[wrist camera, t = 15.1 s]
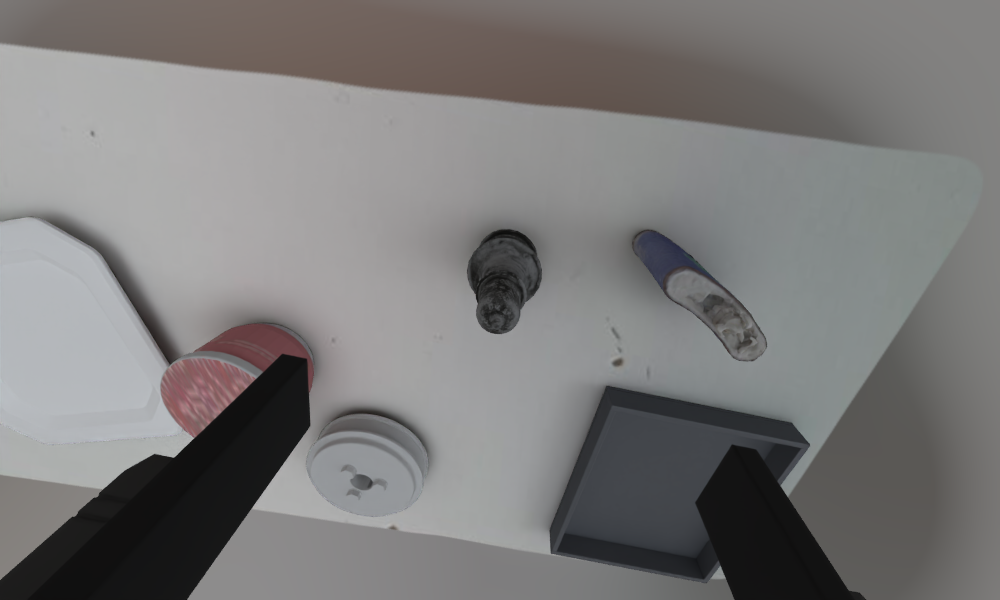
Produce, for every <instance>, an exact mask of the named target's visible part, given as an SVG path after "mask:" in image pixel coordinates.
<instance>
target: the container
mask: <svg viewBox="0 0 1000 600" xmlns="http://www.w3.org/2000/svg"><path fill="white" fill-rule="evenodd" d="M281 354H287V355H292V356H297V357H302V358H307V362H308V384H309V392H310V390H311V387H312V382H313V376H314V361H313V356H312V353H311V350H310V349H309V347H308V345H307V344H306V343H305V341H304V340H303V339H302V338H301V337H300V336H298V335H297V334H296V333H294V332H293V331H291V330H289V329H287V328H285V327H283V326H280V325H277V324H270V323H262V324H248V325H243V326H238V327H234V328H231V329H229V330H227V331H225V332H224V333H222V334H221V335H219V336H218V337H216V338H214V339H213V340H211V341H210V342H208V343H206V344H205V345H203V346H202V347H200V348H199V349H197V350H195V351H194V352H193V353H189V354H186V355H184V356H182V357H180V358H179V359H177V360H176V361H174V362H173V363H172V364H171V365H170V366H169V367H167V368H166V370H165V372H164V373H163V375H162V378H161V382H160V393H161V397H162V400H163V403H164V405H165V407H166V409H167V411H168V413H169V414H170V415H171V417H172V418H173V419H174V420H175V422H176V423H177V424H178V425H179V426H180V427H181V428H183V429H184V430H185V431H186V432H187V433H189V434H190V435H191V436H193V437H194V438H195V437H196V436H197V435H198V434H199V433H200V432H201V431H202V430H204V429H205V428H206V427H207V426H208V425H209V424H210V423H211V422H212V421H213V420H214V419H215V418H216V417H217V416H218V415H219V414H220V413H221V412H222V411H223V410H224V409H225V408H226V407H227V406H228V405H229V404H230V403H232V402H233V401H234V400H235V399H236V398H237V397H238V396H239V395H240V394H241V393H242V392H243V391H244V390H245V389H246V388H247V387H248V386H249V385H250V384H251V383H252V382H253V381H254V380H255V379H256V378H257V377H258V376H260V375H261V374H262V373H263V372H264V371H265V370H266V369H267V368H268V367H269V366H270V365H271V364H272V363H273V362H274V361H275V360H276V359H277V358H278V357H279V356H280V355H281Z"/></svg>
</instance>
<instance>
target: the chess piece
mask: <svg viewBox="0 0 1000 600" xmlns="http://www.w3.org/2000/svg"><path fill="white" fill-rule="evenodd" d="M467 274H468V281H469V284H470V286H471V288H472V290H473V291H474V293H475V294H476V300H477V303H478V305H477V309H476V316H477V320H478V322H479V324H480V325H481V327H482V328H483V329H485V330H486V331H488V332H490V333H494V334H503V333H507V332H509V331H510V330H512V329H513V328H514V327H515V326H516V324H517V323H518V321H519V318H520V310H521V309H522V307H523V306H524V304H525V302H527V301H528V300H529V299H530V298H531V297H532V296H534V294H535V293H536V291H537V290H538V288H539V286H540V282H541V279H542V269H541V265H540V261H539V259H538V257H537V253H536V249H535V247H534V245H533V243H532V242H531V241H530V240H529V239H528V238H527V237H526V236H525V235H523V234H522V233H520V232H518V231H514V230H499V231H495V232H493V233H491V234H489V235H488V236H487V237H486V238H485V239H484V240H483V241H482V242H481V244H480V246H479V247H478V248H477V249H476V251H475V252H474V253H473V255H472V256H471V258H470V260H469V264H468V269H467Z"/></svg>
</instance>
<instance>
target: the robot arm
mask: <svg viewBox="0 0 1000 600" xmlns="http://www.w3.org/2000/svg"><path fill="white" fill-rule="evenodd" d="M309 427H310V405H309V384H308V362H307V358H302V357H297V356H292V355H287V354H281V355H280V356H279V357H278V358H277V359H276V360H275V361H274V362H273V363H272V364H271V365H270V366H269V367H268V368H267V369H266V370H265V371H264V372H263V373H262V374H261V375H260V376H258V377H257V378H256V379H255V380H254V381H253V382H252V383H251V384H250V385H249V386H248V387H247V388H246V389H245V390H244V391H243V392H242V393H241V394H240V395H239V396H238V397H237V398H236V399H235V400H234V401H233V402H232V403H230V404H229V405H228V406H227V407H226V408H225V409H224V410H223V411H222V412H221V413H220V414H219V415H218V416H217V417H216V418H215V419H214V420H213V421H212V422H211V423H210V424H209V425H208V426H207V427H206V428H205V429H204V430H202V431H201V432H200V433H199V434H198V435H197V436H196V437H195V438H194V439H193V440H192V441H191V442H190V443H189V444H188V445H187V446H186V447H185V448H184V449H183V450H182V451H181V452H180V453H179V454H178V455H177V456H176V457H174V458H172V457H167V456H162V455H157V454H154V455H152V456H150V457H148V458H146V459H145V460H143V461H141V462H139V463H138V464H136V465H134V466H132V467H130V468H129V469H127V470H125V471H124V472H123V473H121V474H120V475H119V476H118V477H117V478H116V479H115V480H113V481H112V482H111V483H110V484H109V485H108V486H107V487H106V488H104V489H103V490H102V491H101V492H100V493H99V496H98V497H96V498H93V499H92V500H91V501H90V502H89V503H87V504H86V505H85V506H84V507H83V508H82V509H81V510H79V512H78V514H77V515H76V516H75V517H72V518H70V519H69V520H68V521H67V522H66V523H65V524H63V525H62V526H61V527H60V528H59V529H58V530H57V531H55V532H54V533H53V534H52V535H51V536H50V537H49V538H48V539H46V540H45V541H44V542H43V543H42V544H41V545H40V546H38V547H37V548H36V549H35V550H34V551H33V552H32V553H30V554H29V555H28V556H27V557H26V558H25V559H24V560H23V561H21V562H20V563H19V564H18V565H17V566H16V567H15V568H13V569H12V570H11V571H10V572H9V573H8V574H7V575H5V576H4V577H3V578H2V579H1V580H0V600H187V599H188V597H189V596H190V594H191V593H192V592H193V590H194V589H195V587H196V586H197V585H198V583H199V582H200V580H201V579H202V578H203V576H204V575H205V573H206V572H207V570H208V569H209V567H210V566H211V565H212V563H213V562H214V560H215V559H216V558H217V556H218V555H219V554H220V552H221V551H222V549H223V548H224V547H225V545H226V544H227V542H228V541H229V540H230V538H231V537H232V535H233V534H234V533H235V531H236V530H237V528H238V527H239V525H240V524H241V522H242V521H243V520H244V518H245V517H246V516H247V514H248V513H249V511H250V510H251V509H252V507H253V506H254V504H255V503H256V502H257V500H258V499H259V497H260V496H261V495H262V493H263V492H264V490H265V489H266V487H267V486H268V485H269V483H270V482H271V480H272V479H273V478H274V476H275V475H276V473H277V472H278V471H279V469H280V468H281V466H282V465H283V464H284V462H285V461H286V459H287V458H288V457H289V455H290V454H291V452H292V451H293V450H294V448H295V447H296V445H297V444H298V442H299V441H300V440H301V438H302V437H303V435H304V434H305V433H306V431H307V430H308V428H309ZM695 504H696V506H697V509H698V511H699V514H700V516H701V519H702V521H703V524H704V526H705V528H706V531H707V533H708V536H709V538H710V541H711V543H712V546H713V548H714V550H715V553H716V555H717V558H718V560H719V563H720V565H721V568H722V570H723V573H724V575H725V577H726V580H727V582H728V585H729V587H730V589H731V592H732V594H733V597H734V599H735V600H866V599H865V598H864V597H863V596H862V595H861V594H860V593H858V592H852V591H849V590H848V589H847V587H846V586H845V584H844V583H843V581H842V580H841V578H840V577H839V575H838V573H837V572H836V570H835V569H834V567H833V566H832V564H831V563H830V561H829V560H828V558H827V557H826V555H825V554H824V552H823V551H822V549H821V547H820V546H819V544H818V543H817V542H816V540H815V538H814V537H813V536H812V534H811V532H810V531H809V529H808V528H807V526H806V525H805V523H804V521H803V520H802V518H801V517H800V515H799V514H798V512H797V511H796V509H795V508H794V506H793V505H792V503H791V502H790V500H789V498H788V497H787V495H786V494H785V492H784V491H783V489H782V488H781V486H780V485H779V483H778V482H777V480H776V479H775V477H774V476H773V474H772V472H771V471H770V469H769V468H768V466H767V465H766V463H765V462H764V460H763V459H762V457H761V456H760V454H759V453H758V451H757V450H756V449H752V448H747V447H742V446H737V445H733V444H732V445H731V447H730V448H729V450H728V451H727V453H726V454H725V456H724V458H723V459H722V461H721V462H720V464H719V466H718V467H717V469H716V470H715V472H714V473H713V475H712V477H711V478H710V480H709V481H708V483H707V484H706V486H705V488H704V489H703V491H702V492H701V494H700V496H699V497H698V499H697V500H696V502H695Z"/></svg>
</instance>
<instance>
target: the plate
mask: <svg viewBox="0 0 1000 600" xmlns="http://www.w3.org/2000/svg"><path fill="white" fill-rule="evenodd" d="M169 366H170V364H169V363H168V361H167V359H166V358H165V356H164V355H163V353H162V351H161V350H160V348H159V346H158V345H157V343H156V342H155V340H154V338H153V337H152V335H151V334H150V332H149V330H148V329H147V327H146V326H145V324H144V322H143V321H142V319H141V318H140V316H139V314H138V313H137V311H136V309H135V308H134V306H133V305H132V303H131V301H130V300H129V298H128V297H127V295H126V293H125V292H124V290H123V289H122V287H121V285H120V284H119V282H118V280H117V279H116V277H115V276H114V274H113V272H112V271H111V269H110V268H109V266H108V264H107V263H106V261H105V260H104V258H103V256H102V255H101V254H100V253H99V252H98V251H96V250H95V249H94V248H93V247H91V246H89V245H87V244H85V243H84V242H82V241H80V240H78V239H77V238H75V237H73V236H71V235H70V234H68V233H66V232H64V231H63V230H61V229H59V228H57V227H56V226H54V225H52V224H50V223H49V222H47V221H45V220H43V219H40V218H36V217H25V218H19V219H13V220H7V221H1V222H0V423H1V424H2V425H3V426H5V427H8V428H10V429H12V430H14V431H16V432H19V433H21V434H23V435H25V436H27V437H30V438H32V439H34V440H36V441H38V442H41V443H43V444H48V445H59V444H72V443H84V442H97V441H110V440H123V439H136V438H149V437H162V436H175V435H177V434H179V433H181V432H182V430H183V428H181V427H180V426H179V425H178V424H177V423H176V422H175V420H174V419H173V418H172V417H171V415H170V414H169V413H168V411H167V409H166V407H165V405H164V403H163V400H162V397H161V393H160V382H161V378H162V375H163V373H164V372H165V370H166V368H167V367H169Z"/></svg>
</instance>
